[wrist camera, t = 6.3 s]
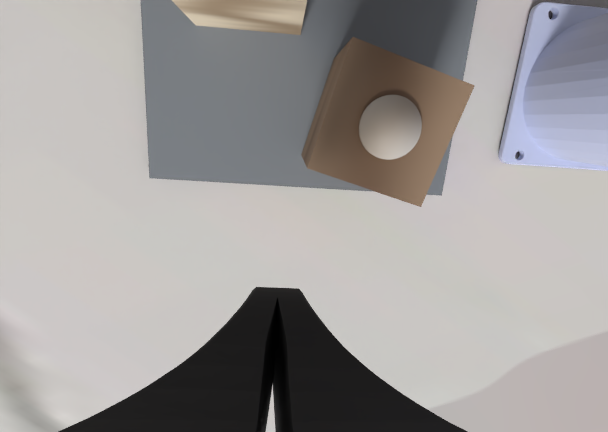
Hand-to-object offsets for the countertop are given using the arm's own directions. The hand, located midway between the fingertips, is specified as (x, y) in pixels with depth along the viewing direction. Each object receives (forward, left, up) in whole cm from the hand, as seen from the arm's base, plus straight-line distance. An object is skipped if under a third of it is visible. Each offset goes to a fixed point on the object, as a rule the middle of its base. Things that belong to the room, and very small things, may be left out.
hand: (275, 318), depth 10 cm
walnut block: (-4, -6, -10) cm, 12 cm away
